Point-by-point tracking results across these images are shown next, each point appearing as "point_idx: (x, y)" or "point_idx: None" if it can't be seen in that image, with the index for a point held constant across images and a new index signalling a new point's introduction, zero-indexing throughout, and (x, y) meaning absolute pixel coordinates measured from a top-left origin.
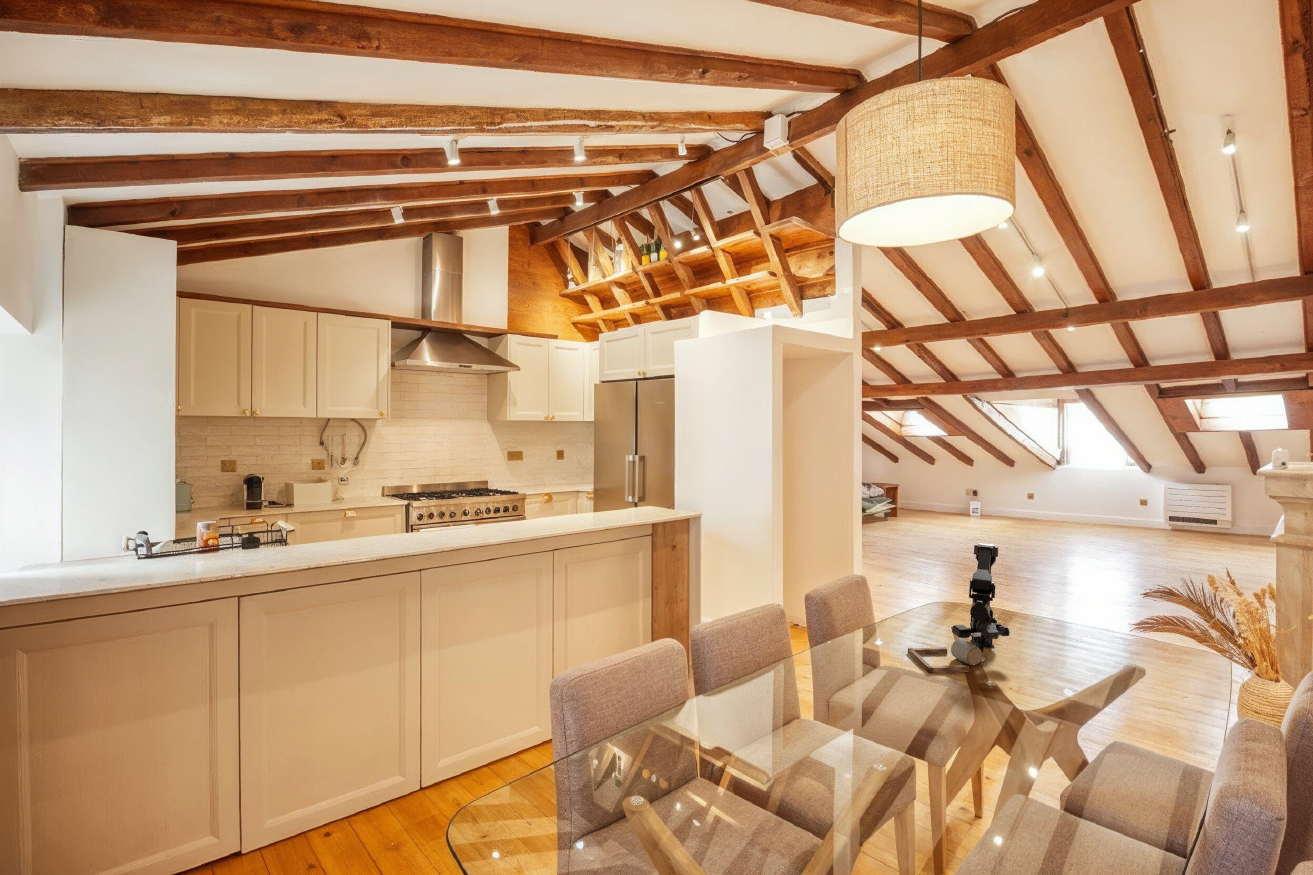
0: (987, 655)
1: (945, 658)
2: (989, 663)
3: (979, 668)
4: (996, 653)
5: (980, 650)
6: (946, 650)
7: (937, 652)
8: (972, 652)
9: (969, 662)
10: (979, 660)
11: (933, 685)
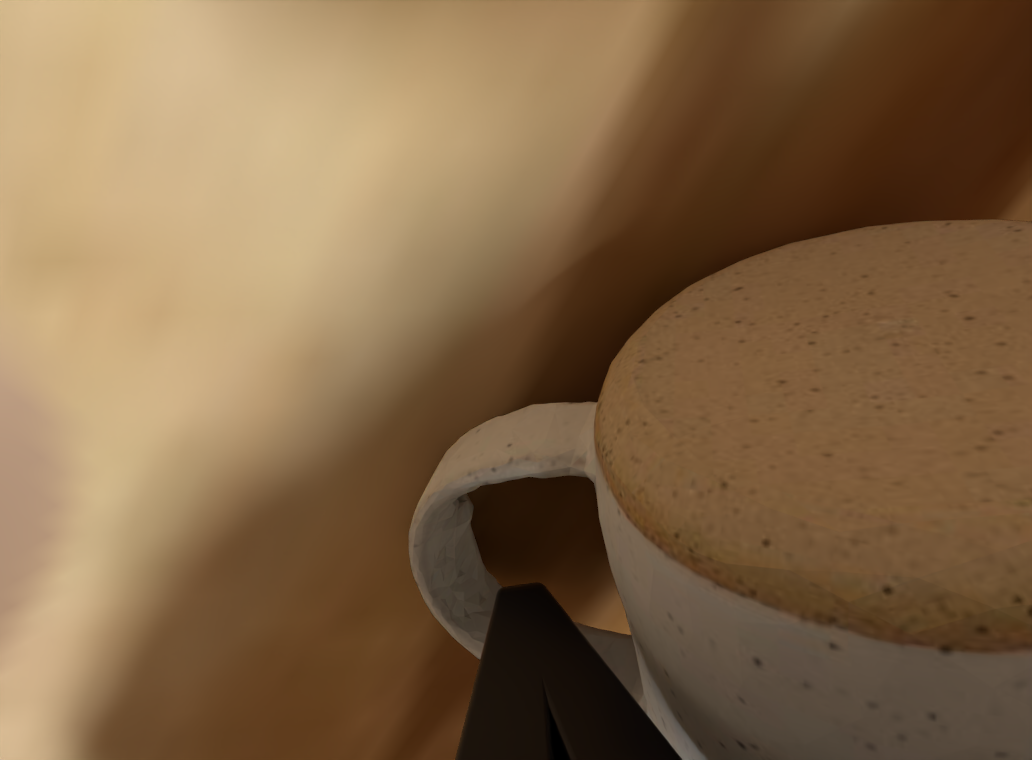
0: (238, 674)
1: None
2: (337, 391)
3: (711, 133)
4: (46, 745)
5: (795, 531)
6: None
7: None
8: None
9: (988, 224)
10: (673, 326)
11: None
